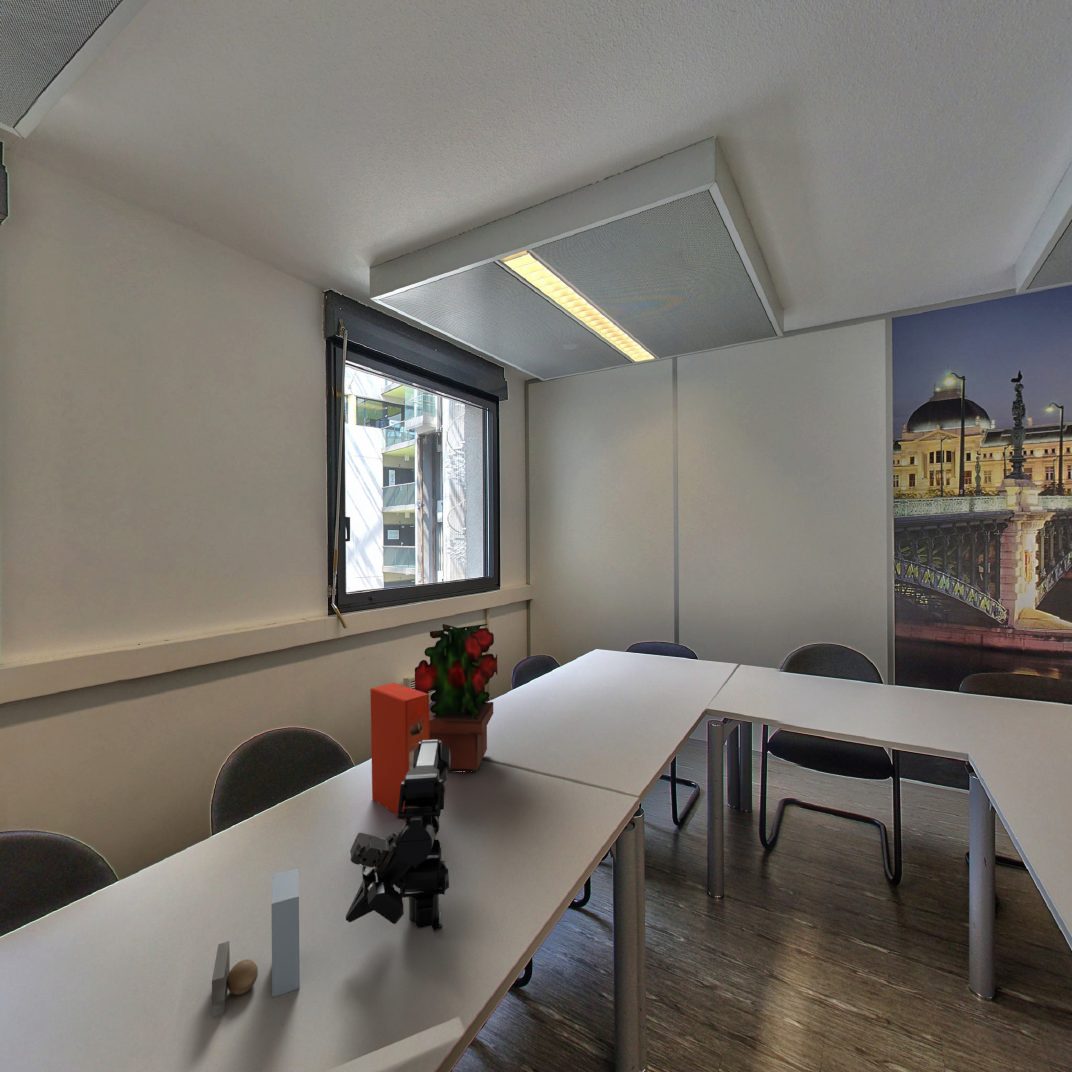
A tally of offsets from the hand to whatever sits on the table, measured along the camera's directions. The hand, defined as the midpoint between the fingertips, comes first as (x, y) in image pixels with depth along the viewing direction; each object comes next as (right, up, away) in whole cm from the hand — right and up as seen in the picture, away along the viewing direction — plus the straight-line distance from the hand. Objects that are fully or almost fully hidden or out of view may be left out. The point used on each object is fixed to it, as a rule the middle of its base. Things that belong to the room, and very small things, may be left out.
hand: (347, 919), depth 93 cm
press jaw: (-9, -6, -5) cm, 11 cm away
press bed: (-9, -7, -5) cm, 12 cm away
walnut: (-14, -6, -7) cm, 17 cm away
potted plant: (+8, -7, +80) cm, 81 cm away
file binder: (-5, -7, +54) cm, 54 cm away
